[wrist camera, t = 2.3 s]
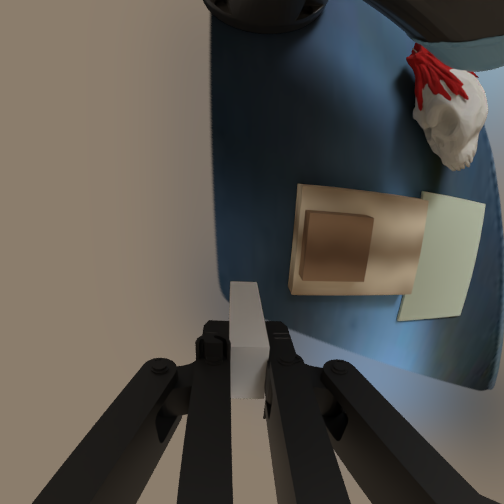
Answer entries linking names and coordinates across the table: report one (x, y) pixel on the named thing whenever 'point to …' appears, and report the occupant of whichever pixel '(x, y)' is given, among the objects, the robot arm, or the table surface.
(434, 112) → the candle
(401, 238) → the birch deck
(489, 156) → the table surface
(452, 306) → the sage mat
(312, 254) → the walnut tile
